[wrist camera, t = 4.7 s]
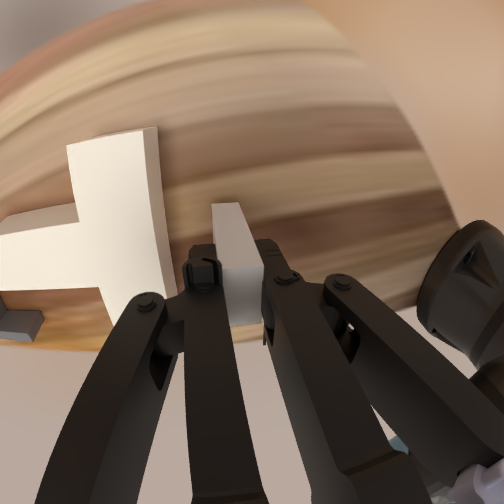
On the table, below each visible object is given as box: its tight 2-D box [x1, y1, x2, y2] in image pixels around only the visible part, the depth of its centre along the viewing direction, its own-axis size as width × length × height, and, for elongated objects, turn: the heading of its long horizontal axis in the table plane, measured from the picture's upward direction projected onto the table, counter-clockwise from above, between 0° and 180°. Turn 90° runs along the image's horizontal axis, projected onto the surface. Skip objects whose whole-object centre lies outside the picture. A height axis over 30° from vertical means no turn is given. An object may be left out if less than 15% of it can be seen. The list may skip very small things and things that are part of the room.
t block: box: [0, 126, 178, 326], centre depth 14 cm, size 13×12×4 cm
